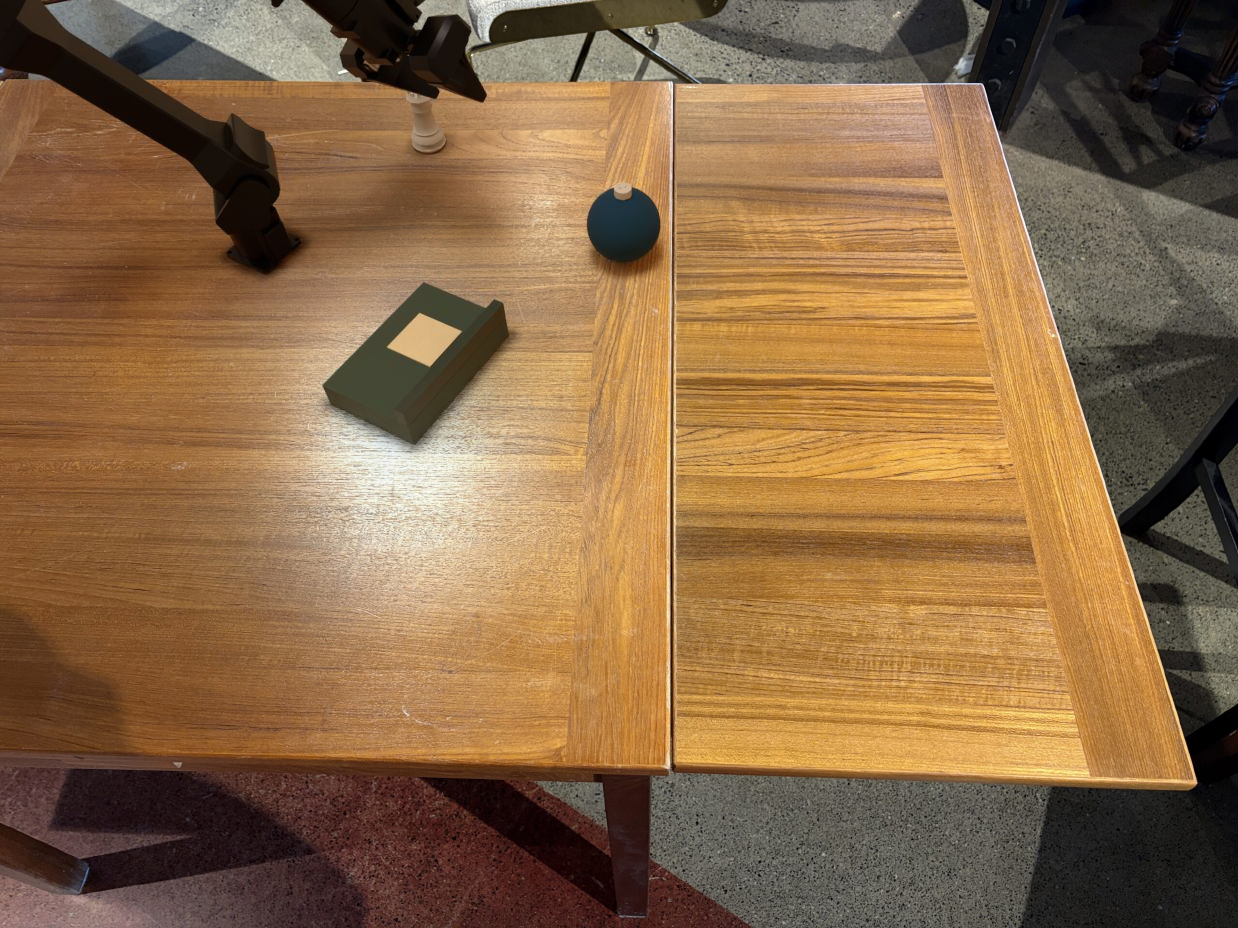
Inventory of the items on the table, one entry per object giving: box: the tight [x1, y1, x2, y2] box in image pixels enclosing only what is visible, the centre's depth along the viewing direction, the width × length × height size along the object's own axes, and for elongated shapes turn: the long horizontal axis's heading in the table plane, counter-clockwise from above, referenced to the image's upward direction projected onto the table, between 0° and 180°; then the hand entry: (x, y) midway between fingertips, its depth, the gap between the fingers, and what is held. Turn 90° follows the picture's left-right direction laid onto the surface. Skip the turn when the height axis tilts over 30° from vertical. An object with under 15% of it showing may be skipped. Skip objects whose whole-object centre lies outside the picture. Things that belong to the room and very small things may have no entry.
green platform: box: [322, 281, 510, 446], centre depth 93 cm, size 11×17×5 cm, turn 150°
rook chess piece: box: [405, 91, 447, 154], centre depth 115 cm, size 4×4×8 cm
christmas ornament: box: [586, 181, 662, 264], centre depth 101 cm, size 8×8×10 cm
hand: (460, 97), depth 99 cm, fingers open, 9 cm apart
